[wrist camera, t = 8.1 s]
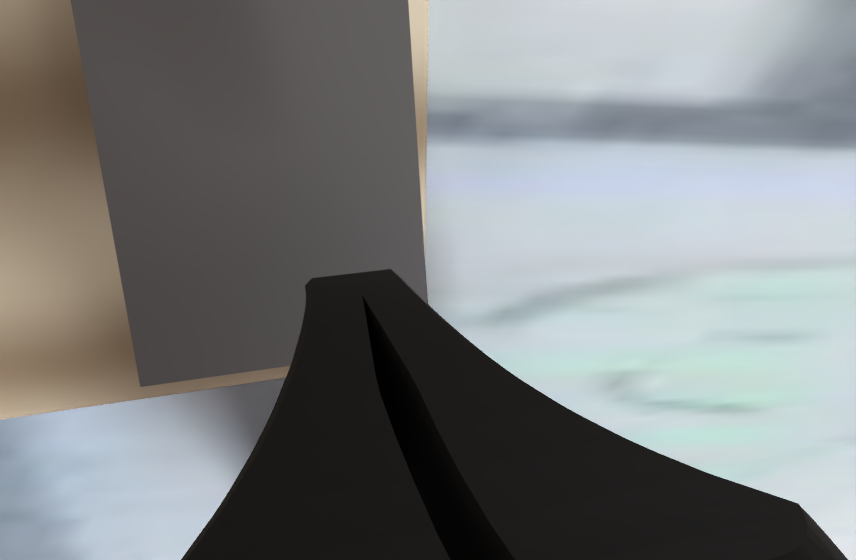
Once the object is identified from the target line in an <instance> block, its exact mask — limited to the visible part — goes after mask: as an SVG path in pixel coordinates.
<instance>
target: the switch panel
mask: <svg viewBox="0 0 856 560" xmlns="http://www.w3.org/2000/svg"><path fill="white" fill-rule="evenodd" d="M408 5H409V21H410V36H411V52H412V67H413V83H414V98H415V114H416V129H417V145H418V161H419V176H420V192H421V207H422V223H423V238H424V254H425V213H426V147H427V81H428V14H429V0H408ZM289 368H290V366H285V367H278V368H271V369H264V370H257V371H250V372H243V373H236V374H229V375H222V376H215V377H208V378H201V379H194V380H187V381H180V382H173V383H166V384H159V385H152V386H145V387H140V383H139V377H138V372H137V366H136V360H135V355H134V349H133V344H132V338H131V333H130V327H129V322H128V316H127V311H126V305H125V299H124V294H123V288H122V283H121V277H120V272H119V266H118V261H117V255H116V250H115V244H114V238H113V233H112V227H111V222H110V216H109V211H108V205H107V200H106V194H105V189H104V183H103V177H102V172H101V166H100V161H99V155H98V150H97V144H96V139H95V133H94V128H93V122H92V116H91V111H90V105H89V100H88V94H87V89H86V83H85V78H84V72H83V67H82V61H81V55H80V50H79V44H78V39H77V33H76V28H75V22H74V17H73V11H72V6H71V0H0V419H7V418H14V417H21V416H27V415H34V414H41V413H48V412H55V411H62V410H69V409H75V408H82V407H89V406H96V405H103V404H110V403H116V402H123V401H130V400H137V399H144V398H151V397H158V396H164V395H171V394H178V393H185V392H192V391H199V390H206V389H212V388H219V387H226V386H233V385H240V384H247V383H254V382H260V381H267V380H274V379H281V378H286V376H287V374H288V371H289Z"/></svg>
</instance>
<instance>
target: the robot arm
mask: <svg viewBox="0 0 856 560" xmlns="http://www.w3.org/2000/svg"><path fill="white" fill-rule="evenodd" d="M305 291H306V305H305V312H304V318H303V323H302V328H301V332H300V335H299V339H298V342H297V346H296V349H295V353H294V356H293V360H292V363H291V366H290V368H289V371H288V374H287V376H286V379H285V381H284V384H283V386H282V389H281V392H280V394H279V397H278V399H277V402H276V404H275V406H274V409H273V411H272V413H271V415H270V417H269V420H268V422H267V424H266V426H265V428H264V430H263V432H262V434H261V436H260V438H259V440H258V442H257V444H256V446H255V447H254V449H253V451H252V453H251V455H250V457H249V458H248V460H247V462H246V464H245V465H244V467H243V469H242V470H241V472H240V474H239V475H238V477H237V479H236V481H235V482H234V484H233V486H232V487H231V489H230V491H229V492H228V494H227V495H226V497H225V498H224V500H223V502H222V503H221V505H220V506H219V508H218V509H217V511H216V512H215V514H214V515H213V517H212V518H211V519H210V521H209V522H208V523H207V525H206V526H205V528H204V529H203V530H202V532H201V533H200V534H199V536H198V537H197V539H196V540H195V541H194V543H193V544H192V545H191V547H190V548H189V550H188V551H187V552H186V554H185V555H184V556H183V558H182V559H181V560H848V559H847V558H846V557H845V556H844V555H843V553H842V552H841V551H840V550H839V549H838V547H837V546H836V545H835V544H834V543H833V542H832V540H831V539H830V538H829V537H828V536H827V535H826V534H825V532H824V531H823V530H822V529H821V528H820V527H819V526H818V525H817V523H816V522H815V521H814V520H813V519H812V518H811V517H810V516H809V515H808V514H807V513H806V512H805V511H804V510H803V509H802V508H801V507H800V505H799V504H798V503H795V502H792V501H789V500H786V499H783V498H780V497H777V496H774V495H771V494H768V493H765V492H762V491H759V490H756V489H753V488H750V487H747V486H744V485H741V484H738V483H735V482H732V481H729V480H726V479H723V478H720V477H717V476H714V475H711V474H709V473H706V472H703V471H701V470H698V469H696V468H693V467H691V466H688V465H686V464H683V463H681V462H679V461H676V460H674V459H671V458H669V457H666V456H664V455H661V454H659V453H657V452H654V451H652V450H650V449H647V448H645V447H643V446H641V445H639V444H636V443H634V442H632V441H630V440H628V439H625V438H623V437H621V436H619V435H617V434H615V433H613V432H611V431H609V430H607V429H605V428H603V427H601V426H599V425H598V424H596V423H594V422H592V421H590V420H588V419H586V418H584V417H582V416H580V415H578V414H576V413H575V412H573V411H571V410H569V409H567V408H566V407H564V406H562V405H560V404H559V403H557V402H555V401H554V400H552V399H551V398H549V397H547V396H546V395H544V394H542V393H541V392H539V391H538V390H536V389H534V388H533V387H531V386H530V385H528V384H526V383H525V382H523V381H522V380H520V379H519V378H517V377H516V376H514V375H513V374H511V373H510V372H509V371H507V370H506V369H504V368H503V367H502V366H500V365H499V364H498V363H496V362H495V361H494V360H492V359H491V358H490V357H488V356H487V355H486V354H484V353H483V352H482V351H481V350H479V349H478V348H477V347H476V346H474V345H473V344H472V343H471V342H470V341H468V340H467V339H466V338H465V337H464V336H463V335H461V334H460V333H459V332H458V331H457V330H456V329H454V328H453V327H452V326H451V325H450V324H449V323H448V322H446V321H445V320H444V319H443V318H442V317H441V316H440V315H439V314H438V313H437V312H435V311H434V310H433V309H432V308H431V307H430V306H429V305H428V304H427V303H426V302H425V301H424V300H423V299H422V298H421V297H420V296H419V295H418V294H417V293H416V292H415V291H414V290H413V289H412V288H411V287H410V286H409V285H408V284H407V283H406V282H405V281H404V280H403V279H402V278H401V277H400V276H399V275H397V274H396V273H395V272H394V271H393V270H392V269H386V270H377V271H369V272H360V273H352V274H343V275H334V276H326V277H317V278H312V279H311V280H310V281H309V282H308V283H307V284H306V285H305Z"/></svg>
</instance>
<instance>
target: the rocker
mask: <svg viewBox="0 0 856 560" xmlns="http://www.w3.org/2000/svg"><path fill="white" fill-rule="evenodd" d="M71 6H72V11H73V17H74V22H75V28H76V33H77V39H78V44H79V50H80V55H81V61H82V67H83V72H84V78H85V83H86V89H87V94H88V100H89V105H90V111H91V116H92V122H93V128H94V133H95V139H96V144H97V150H98V155H99V161H100V166H101V172H102V177H103V183H104V189H105V194H106V200H107V205H108V211H109V216H110V222H111V227H112V233H113V238H114V244H115V250H116V255H117V261H118V266H119V272H120V277H121V283H122V288H123V294H124V299H125V305H126V311H127V316H128V322H129V327H130V333H131V338H132V344H133V349H134V355H135V360H136V366H137V372H138V377H139V383H140V387H145V386H152V385H159V384H166V383H173V382H180V381H187V380H194V379H201V378H208V377H215V376H222V375H229V374H236V373H243V372H250V371H257V370H264V369H271V368H278V367H285V366H291V363H292V360H293V356H294V353H295V349H296V346H297V342H298V339H299V335H300V332H301V328H302V323H303V318H304V312H305V305H306V291H305V285H306V284H307V283H308V282H309V281H310V280H311V279H312V278H317V277H326V276H334V275H343V274H352V273H360V272H369V271H377V270H386V269H392V270H393V271H394V272H395V273H396V274H397V275H399V276H400V277H401V278H402V279H403V280H404V281H405V282H406V283H407V284H408V285H409V286H410V287H411V288H412V289H413V290H414V291H415V292H416V293H417V294H418V295H419V296H420V297H421V298H422V299H423V300H424V301H425V302H426V303H427V304H428V300H427V285H426V269H425V254H424V238H423V223H422V207H421V192H420V176H419V161H418V145H417V129H416V114H415V98H414V83H413V67H412V52H411V36H410V21H409V5H408V0H71Z"/></svg>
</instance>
